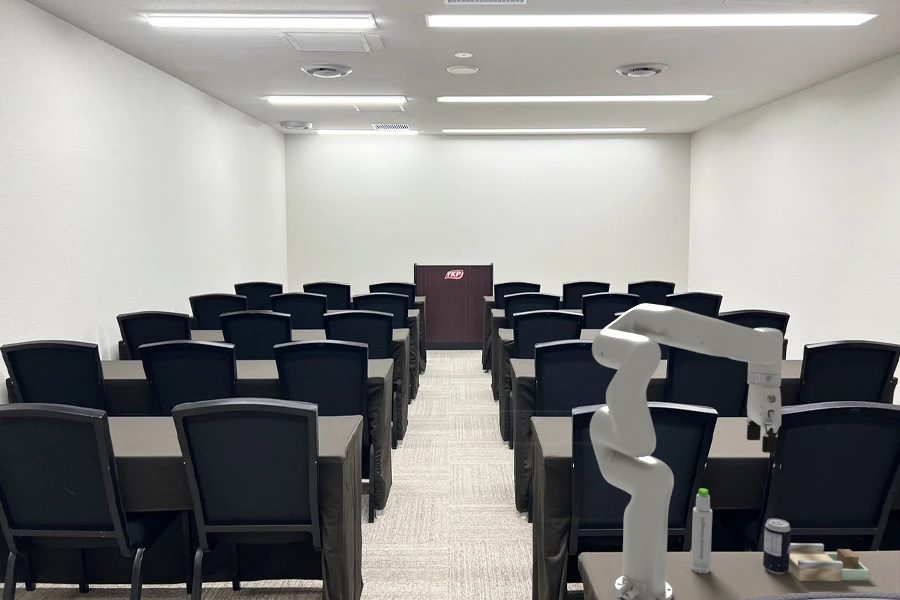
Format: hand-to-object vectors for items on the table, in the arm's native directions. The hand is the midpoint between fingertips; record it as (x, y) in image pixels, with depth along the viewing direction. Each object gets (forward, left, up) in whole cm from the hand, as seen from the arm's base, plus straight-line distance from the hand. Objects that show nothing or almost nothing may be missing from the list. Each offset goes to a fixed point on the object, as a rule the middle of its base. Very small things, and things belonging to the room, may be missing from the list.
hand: (761, 445), depth 176 cm
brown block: (+5, -18, -26) cm, 32 cm away
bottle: (-17, +7, -28) cm, 34 cm away
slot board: (0, -13, -28) cm, 31 cm away
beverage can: (-5, -6, -28) cm, 30 cm away
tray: (+6, -19, -28) cm, 34 cm away
